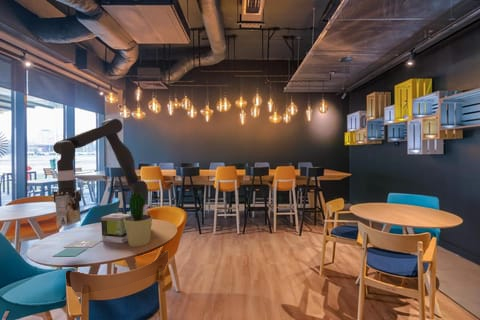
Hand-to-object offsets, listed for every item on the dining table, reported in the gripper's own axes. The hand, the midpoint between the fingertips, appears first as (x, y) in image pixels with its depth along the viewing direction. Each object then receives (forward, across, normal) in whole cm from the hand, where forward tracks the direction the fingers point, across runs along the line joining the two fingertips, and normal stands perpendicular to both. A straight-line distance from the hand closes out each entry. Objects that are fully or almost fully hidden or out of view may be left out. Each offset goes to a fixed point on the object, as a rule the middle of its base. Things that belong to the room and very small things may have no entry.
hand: (68, 210), depth 140 cm
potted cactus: (+23, -32, -13) cm, 41 cm away
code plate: (+23, +1, -12) cm, 26 cm away
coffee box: (+7, 0, 0) cm, 7 cm away
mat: (+23, 0, 0) cm, 23 cm away
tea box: (+23, -16, -19) cm, 34 cm away
